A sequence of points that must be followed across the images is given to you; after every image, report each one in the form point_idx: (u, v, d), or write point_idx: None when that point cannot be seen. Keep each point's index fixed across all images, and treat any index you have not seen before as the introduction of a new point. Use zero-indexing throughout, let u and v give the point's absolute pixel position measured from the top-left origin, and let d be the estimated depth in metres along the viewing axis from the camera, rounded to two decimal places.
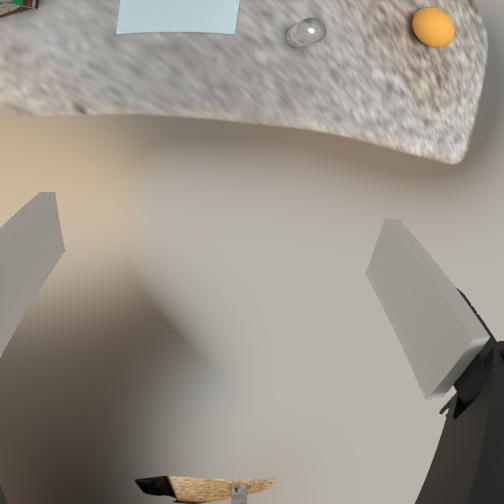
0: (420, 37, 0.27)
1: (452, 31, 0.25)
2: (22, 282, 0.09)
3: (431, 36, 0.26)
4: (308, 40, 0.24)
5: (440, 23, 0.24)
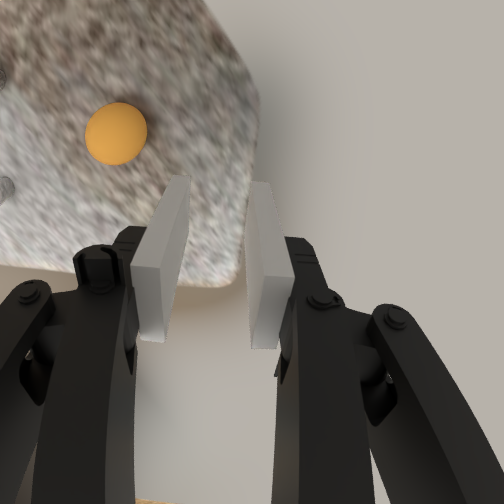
0: None
1: (120, 141, 0.22)
2: (178, 256, 0.11)
3: (97, 159, 0.24)
4: None
5: (96, 140, 0.22)
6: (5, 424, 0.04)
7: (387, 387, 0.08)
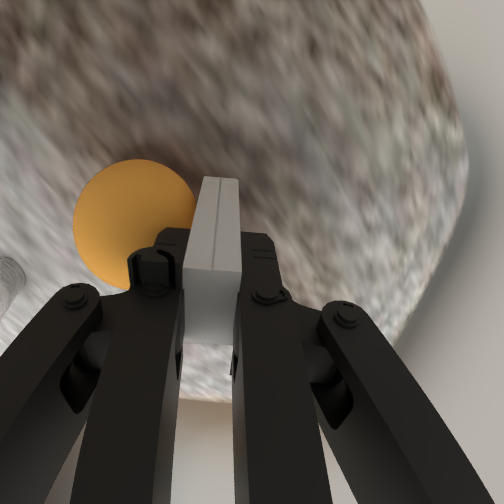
0: None
1: (79, 249, 0.11)
2: None
3: None
4: None
5: None
6: (41, 433, 0.04)
7: (346, 386, 0.08)
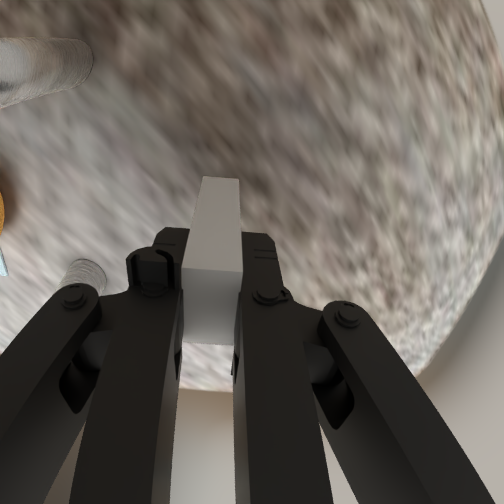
0: None
1: None
2: None
3: None
4: None
5: None
6: (40, 433, 0.04)
7: (347, 386, 0.08)
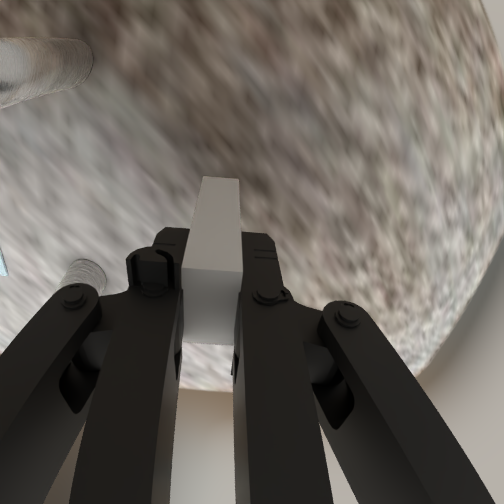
0: None
1: None
2: None
3: None
4: None
5: None
6: (40, 433, 0.04)
7: (347, 386, 0.08)
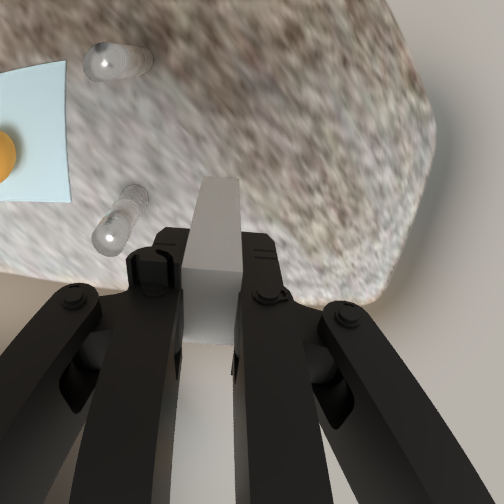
0: None
1: None
2: None
3: (10, 172, 0.23)
4: (106, 254, 0.22)
5: (15, 149, 0.23)
6: (40, 433, 0.04)
7: (347, 386, 0.08)
